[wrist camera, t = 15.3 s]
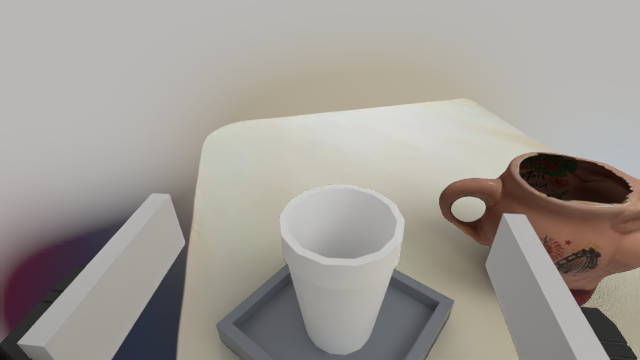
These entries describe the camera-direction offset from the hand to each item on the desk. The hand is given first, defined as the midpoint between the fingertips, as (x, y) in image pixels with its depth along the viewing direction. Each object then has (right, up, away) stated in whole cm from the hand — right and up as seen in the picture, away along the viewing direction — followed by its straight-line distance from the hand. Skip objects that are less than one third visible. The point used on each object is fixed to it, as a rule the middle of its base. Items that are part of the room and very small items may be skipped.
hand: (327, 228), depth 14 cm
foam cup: (+1, -12, +19) cm, 23 cm away
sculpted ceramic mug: (+22, -9, +25) cm, 35 cm away
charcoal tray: (+1, -13, +20) cm, 24 cm away
